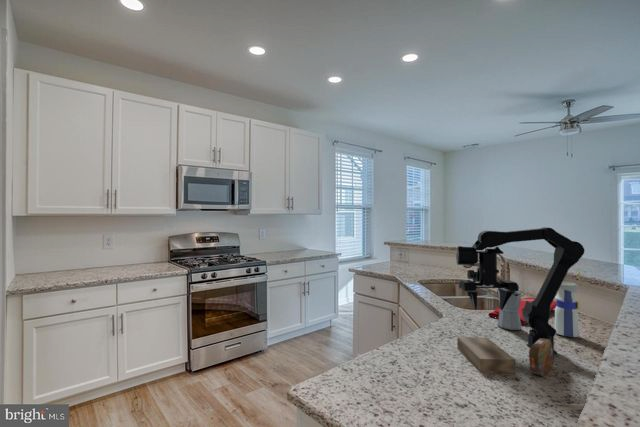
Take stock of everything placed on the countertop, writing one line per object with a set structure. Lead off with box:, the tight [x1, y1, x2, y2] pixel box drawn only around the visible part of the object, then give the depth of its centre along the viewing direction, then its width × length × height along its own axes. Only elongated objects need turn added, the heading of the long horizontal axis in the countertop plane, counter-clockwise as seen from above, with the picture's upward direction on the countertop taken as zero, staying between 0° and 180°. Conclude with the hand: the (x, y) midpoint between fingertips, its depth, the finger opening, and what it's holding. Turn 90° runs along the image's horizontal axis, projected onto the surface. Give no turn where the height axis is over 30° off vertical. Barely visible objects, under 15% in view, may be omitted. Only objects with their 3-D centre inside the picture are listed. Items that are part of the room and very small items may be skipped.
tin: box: [528, 338, 555, 377], centre depth 96 cm, size 15×3×8 cm, turn 131°
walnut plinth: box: [456, 336, 516, 374], centre depth 102 cm, size 10×17×4 cm, turn 178°
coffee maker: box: [496, 288, 523, 331], centre depth 135 cm, size 15×9×18 cm, turn 179°
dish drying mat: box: [488, 297, 557, 325], centre depth 155 cm, size 16×41×4 cm, turn 127°
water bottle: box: [553, 269, 581, 338], centre depth 126 cm, size 8×9×25 cm
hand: (488, 309), depth 116 cm, fingers open, 9 cm apart
